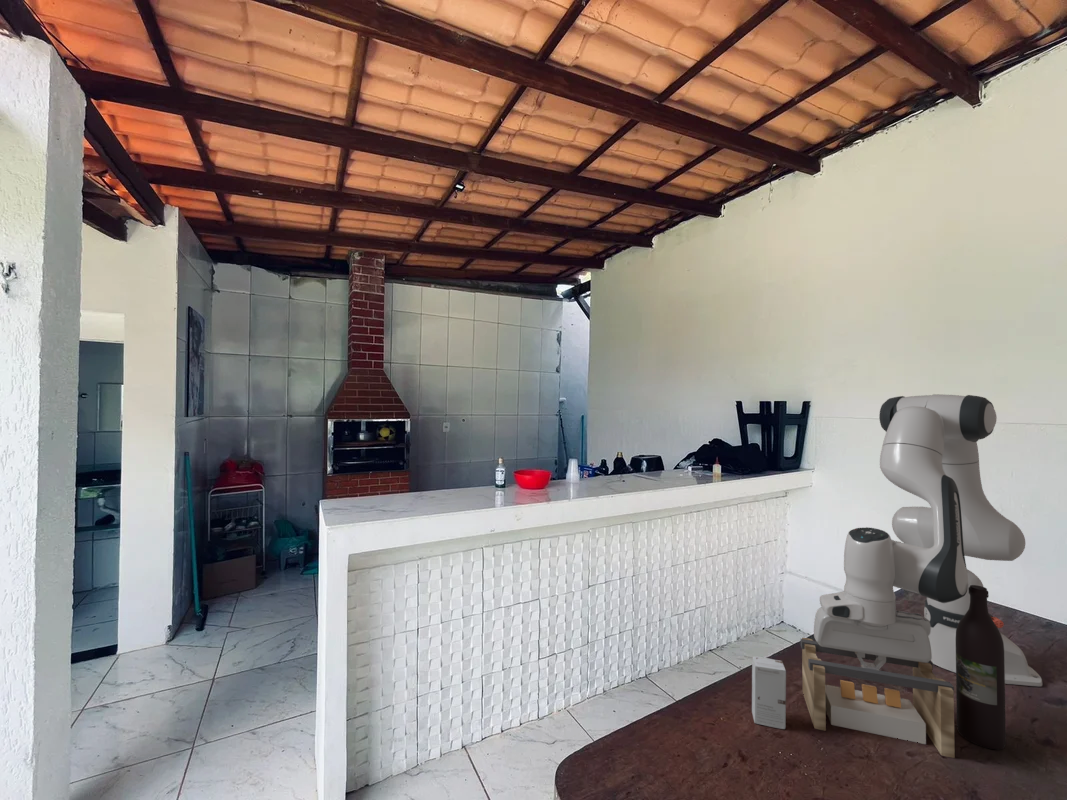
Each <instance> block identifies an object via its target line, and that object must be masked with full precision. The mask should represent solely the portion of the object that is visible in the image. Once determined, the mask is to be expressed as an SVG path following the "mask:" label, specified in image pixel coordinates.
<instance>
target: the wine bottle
mask: <svg viewBox="0 0 1067 800" xmlns="http://www.w3.org/2000/svg"><path fill="white" fill-rule="evenodd" d="M969 594H970V606H969V610H968V611H967V613H966V614H965V615H964V616H963V618H962V619H961V620H960V622H959V623H958V626H957V629H956V673H955V686H956V691H955V693H956V695H955V696H956V697H955V698H956V700H955V701H956V729H957V731H958V733H959V734H960V735H961V736H962V737H963V738H964V739H966V740H967V741H969V742H970V743H973V744H975V745H977V746H980V747H982V748H986V749H989V750H1003V749H1004V748H1005V746H1006V744H1007V742H1006V740H1007V739H1006V736H1007V735H1006V731H1007V730H1006V729H1007V727H1006V684H1005V664H1004V643H1003V639H1002V636H1001V634H1002V633H1001V632H1000V630H999V628H997V626H996V625H995V623H994V622H993V620H992V618H991V616H990V615H989V614H990V613H989V612H990V611H989V608H988V598H989V591H988V588H986V587H985V586H983V587H982V586H977V585H970V587H969Z"/></svg>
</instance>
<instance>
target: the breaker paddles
mask: <svg viewBox="0 0 1067 800" xmlns="http://www.w3.org/2000/svg"><path fill="white" fill-rule="evenodd" d="M839 687H840V689H841V696H842V697H846V698H851V699H855V690H856V689H855V683H854V682H853V681H850V680H849V681H848V680H842V679H839ZM883 689H884V691H883V692H884V695H885V703H886V705H889V706H894V707H899V708H901V700H900V698H901V693H900V690H898V689H893V688H888V687H884V688H883ZM861 691H862V694H863V700H864V701H867V702H873V703H878V698H877V694H878V689H877V686H876V685H871V684H864V683H861Z"/></svg>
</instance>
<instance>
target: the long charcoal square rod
mask: <svg viewBox="0 0 1067 800" xmlns="http://www.w3.org/2000/svg"><path fill="white" fill-rule="evenodd" d="M812 640H813V639H812ZM812 640H806V639H802V638H800V648H801V650H802V649H804V650H805V644H809V645H815V647H816V652H817V653H818V652H819V653H824V654H830V655H831V654H832V655H836V656H842V657H849V658H855V659H858V657H857V656H856V654H855V652H853V651H846V650H840V649H834V648H827V647H821V646H820V645H819V644H818V643H817V641H816V640H813V641H812ZM876 658H877V657H876V656H875V655H872V654H866V653H865V658H862V659H863V660H868V661H873V662H874V661H875V660H876ZM928 663H930V664H931V665H932V671H933V670H934V669H933V666H934V664H933V662H932V661H931V660H930V661H929V662H928ZM885 664H894V665H898V666H899V665H900V666H903V667H912V668H913V667H916V668H918V662H917V661H910V660H904V659H897V658H891V657H886V662H885Z"/></svg>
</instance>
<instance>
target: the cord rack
mask: <svg viewBox="0 0 1067 800" xmlns="http://www.w3.org/2000/svg"><path fill="white" fill-rule="evenodd" d="M801 639H806V640H812V641H814V640H813V638H808V637H802V638H801ZM801 652H802V653H801V659H802V660H801V661H802V663H801V664H802V665H801V667H802V670H801V671H802V677H801V679H802V695H803V694H804V695H803V698H804V700H805V703H806V707H807V711H808V712H809V716H810V719H811V723H812V724H813V725H812V726H813V727H814V728H813V729H816V730H820V731H825V732H826V731H827V728H826V727H827V726H826V724H827V721H826V719H827V717H826V715H827V712H826V708H825V685H826V673H825V668H824V666H819V665H813V671H812V670H810V669H809V666H808V659H814V660H820V661H822V659H821V658H818V656H817V653H816V652H817V651H816V647H815V645H809V644H805V650H804V649H802V648H801ZM912 676H916V677H922V678H928V679H934V680H940V681H946V679H943V678H939V677H938V678H937V677H936V676H935V674H934V672H933V670H932V665H931V664H930V663H923V662H918V668H916V667H912ZM954 696H955V690H954V691H953V690H952V688H949V687H943V686H938V692H932V691H927V690H921V689H915V688H912V705H913V706H914V707H915V709H916V710H917V712H918V713H919V715H920V716H921V718H922V719H923V721H924V722H925V724H926V735H927V736H928V737H929V739H930V740H931V743H933V746H935V748H936V750H938V753H939V754H940V755H941V757H942V756H943V757H947V758H952V759H955V758H956V757H955V753H956V752H955V709H954V708H955V702H954V701H955V700H954V699H955V697H954Z"/></svg>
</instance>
